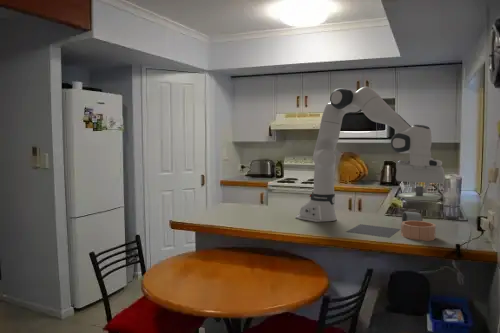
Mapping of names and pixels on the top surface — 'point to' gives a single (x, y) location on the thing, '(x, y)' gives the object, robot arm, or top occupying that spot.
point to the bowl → (418, 230)
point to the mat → (374, 230)
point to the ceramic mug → (411, 216)
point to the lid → (419, 195)
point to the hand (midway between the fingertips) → (419, 192)
